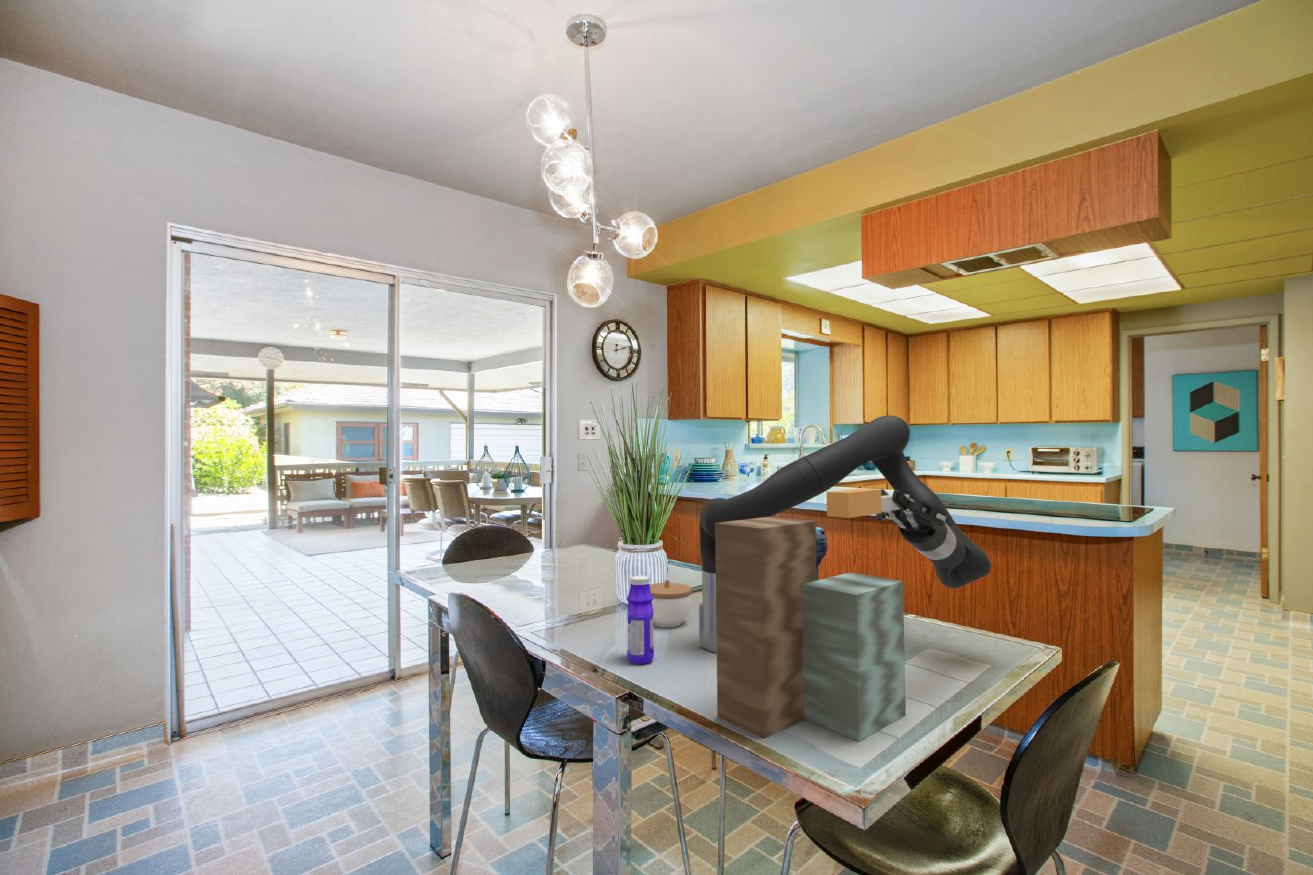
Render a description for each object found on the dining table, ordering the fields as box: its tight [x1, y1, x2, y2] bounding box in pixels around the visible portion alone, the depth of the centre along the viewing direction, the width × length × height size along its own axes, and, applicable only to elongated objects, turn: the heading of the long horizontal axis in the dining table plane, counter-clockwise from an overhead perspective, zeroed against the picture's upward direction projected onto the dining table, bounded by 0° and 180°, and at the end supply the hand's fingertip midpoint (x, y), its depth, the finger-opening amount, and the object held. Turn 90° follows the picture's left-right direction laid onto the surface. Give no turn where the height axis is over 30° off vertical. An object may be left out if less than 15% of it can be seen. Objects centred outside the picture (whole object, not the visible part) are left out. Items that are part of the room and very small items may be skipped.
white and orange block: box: [826, 488, 909, 519], centre depth 103 cm, size 21×4×4 cm, turn 130°
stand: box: [715, 516, 907, 742], centre depth 99 cm, size 24×20×32 cm
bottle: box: [626, 575, 655, 665], centre depth 127 cm, size 7×6×17 cm
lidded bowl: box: [649, 579, 693, 629], centre depth 153 cm, size 13×13×11 cm
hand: (887, 494), depth 107 cm, fingers closed on white and orange block, 2 cm apart
